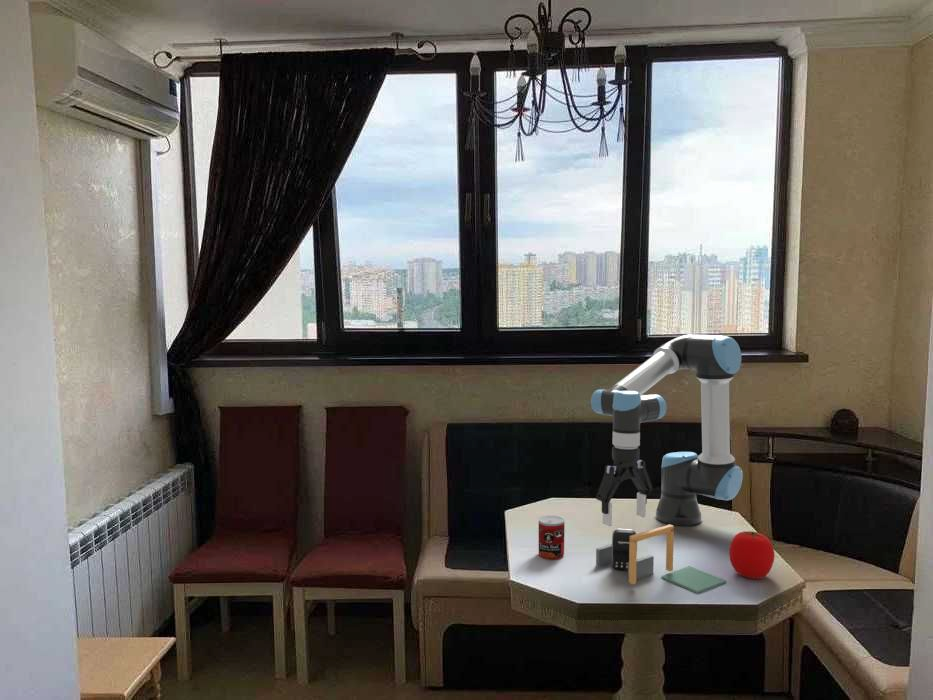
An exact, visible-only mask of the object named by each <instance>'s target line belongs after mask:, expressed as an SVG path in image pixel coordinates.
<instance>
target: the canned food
mask: <svg viewBox="0 0 933 700" xmlns="http://www.w3.org/2000/svg"><path fill="white" fill-rule="evenodd" d="M538 554H539V557H540V558H542V559H544V560H549V561H554V560H559V559H562V558H563V557H564V555H565V519H564V517H562V516H558V515H545V516H541V517H539V519H538Z"/></svg>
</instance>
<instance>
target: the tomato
mask: <svg viewBox="0 0 933 700" xmlns="http://www.w3.org/2000/svg"><path fill="white" fill-rule="evenodd" d="M728 551H729V552H728V555H729V561H730V563H731V566H732V568H733V570H734V571H735V572H736V573H737V574H739V575H741V576H743V577H745V578H748V579H753V580H754V579H755V580H756V579H763V578H765V577H766V576H768V574H769V573H770V571H771V570H772V567H773V564H774V562H775V549H774V547H773V544H772V542H771V541H770V539H769V538H768V537H767V536H765V535H764V534H762V533H760V532H757V531H745V530H743V531H740V532H738V533H737V534H735V535H734V536H733V538H732V540H731V542H730V546H729V550H728Z"/></svg>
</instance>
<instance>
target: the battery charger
mask: <svg viewBox="0 0 933 700" xmlns="http://www.w3.org/2000/svg"><path fill="white" fill-rule="evenodd" d="M635 534H637V532H636V531H635V530H634V529H631V528H615V529H614V530H613V532H612V534H611V535H612V536H611V541H612V543H611V544H612V555H613V562H612V563H611V564H612V565H611V566H612V569H614V570H617V571H626V572H628V562H629V545H630V536H631V535H635ZM636 557H637V554H636Z"/></svg>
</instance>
